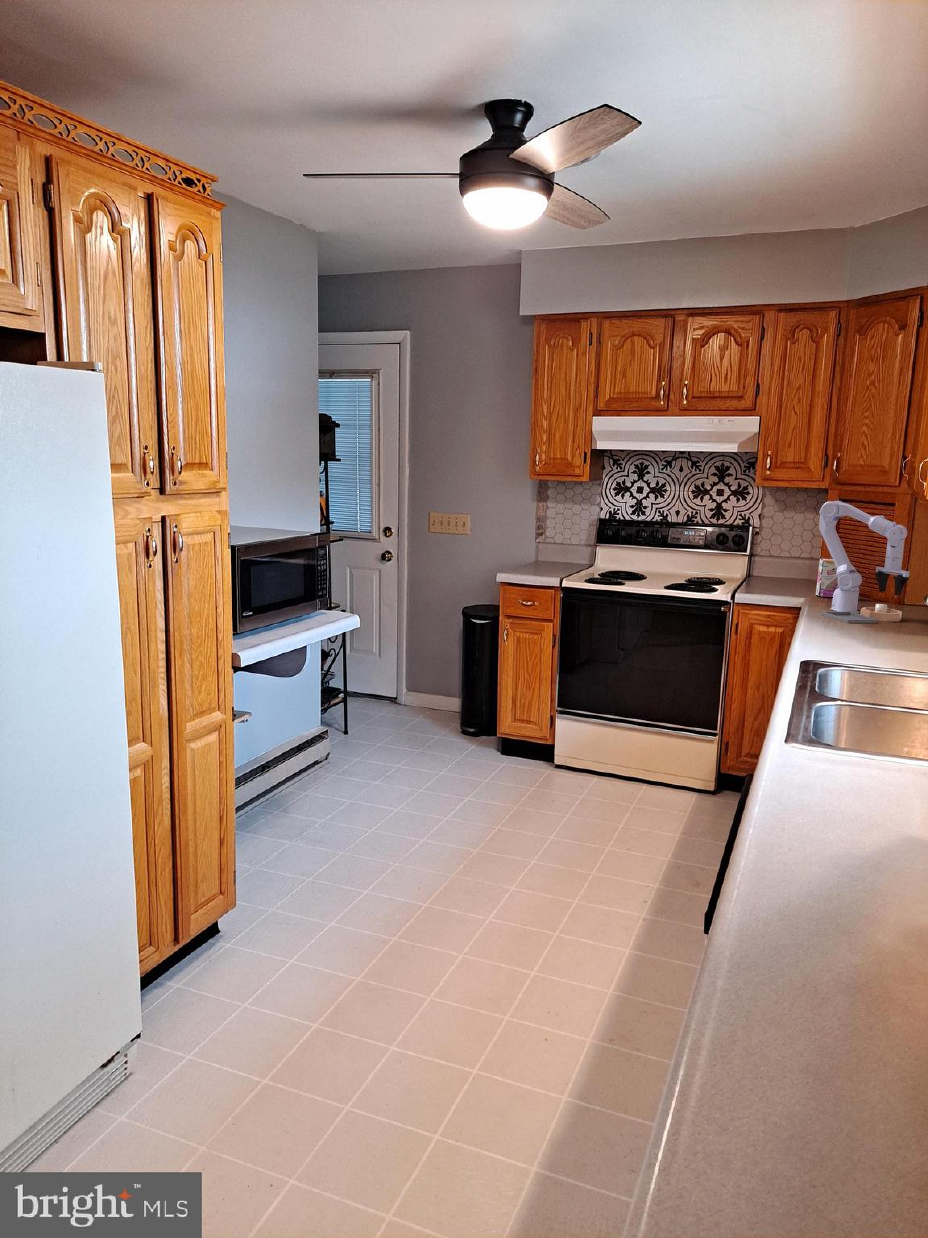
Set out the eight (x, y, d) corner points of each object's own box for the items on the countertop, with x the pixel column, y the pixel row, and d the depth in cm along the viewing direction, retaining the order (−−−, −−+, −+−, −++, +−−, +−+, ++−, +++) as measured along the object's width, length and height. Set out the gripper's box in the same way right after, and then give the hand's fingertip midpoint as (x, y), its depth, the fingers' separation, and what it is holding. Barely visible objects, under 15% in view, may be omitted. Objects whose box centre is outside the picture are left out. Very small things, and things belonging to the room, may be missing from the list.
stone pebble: (871, 616, 334) (873, 603, 333) (881, 616, 335) (882, 603, 334) (878, 618, 330) (880, 605, 329) (888, 618, 331) (889, 605, 330)
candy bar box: (818, 597, 381) (822, 559, 378) (815, 595, 386) (819, 558, 383) (845, 598, 380) (849, 560, 377) (841, 597, 385) (845, 559, 382)
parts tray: (821, 616, 336) (821, 611, 335) (849, 616, 338) (850, 611, 338) (847, 624, 320) (847, 619, 320) (876, 624, 322) (877, 619, 322)
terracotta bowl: (853, 616, 338) (854, 607, 337) (884, 615, 340) (885, 606, 340) (875, 623, 325) (876, 613, 324) (908, 622, 328) (909, 613, 327)
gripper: (871, 555, 338) (867, 590, 340) (900, 560, 324) (895, 596, 327) (886, 555, 340) (881, 590, 342) (915, 559, 326) (911, 596, 329)
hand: (889, 593), depth 335 cm, fingers open, 7 cm apart
